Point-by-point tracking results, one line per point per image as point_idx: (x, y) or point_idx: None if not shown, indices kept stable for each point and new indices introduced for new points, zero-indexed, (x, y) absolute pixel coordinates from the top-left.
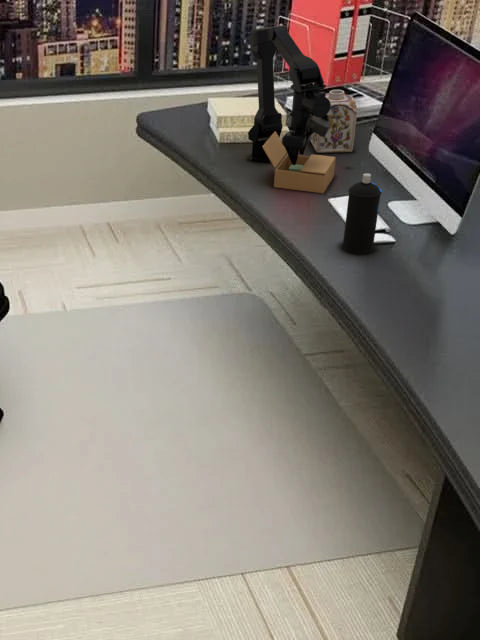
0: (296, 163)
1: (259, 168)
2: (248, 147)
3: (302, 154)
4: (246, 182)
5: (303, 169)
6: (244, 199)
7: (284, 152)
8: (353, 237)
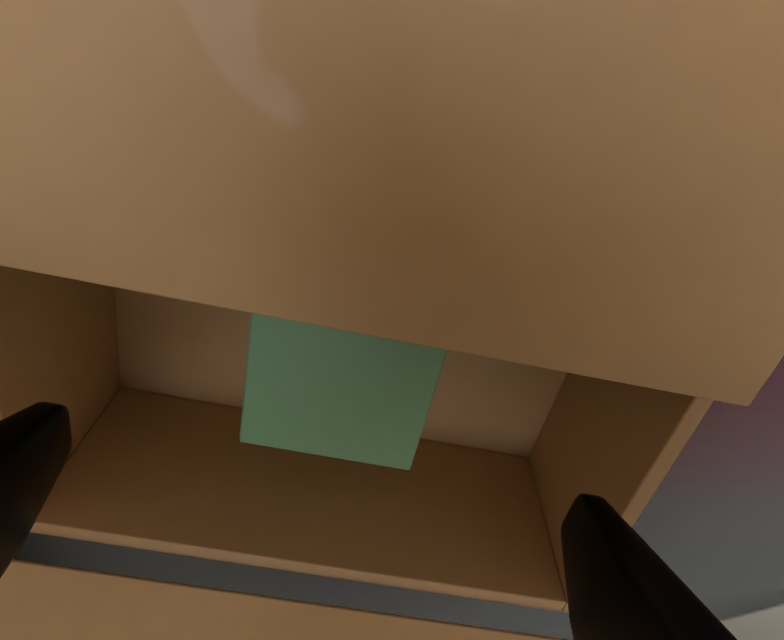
0: (67, 358)
1: (135, 551)
2: None
3: (68, 413)
4: (439, 604)
5: (732, 366)
6: (763, 603)
7: (87, 605)
8: None
